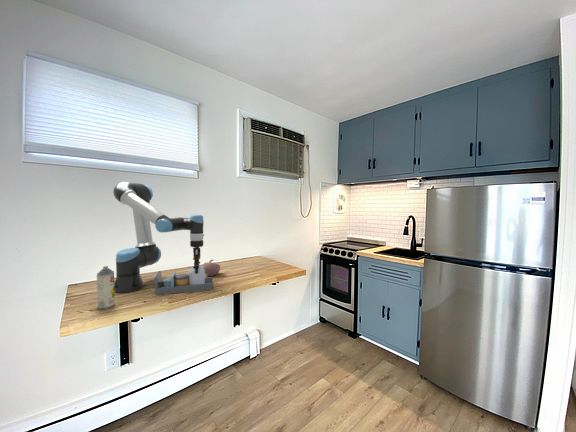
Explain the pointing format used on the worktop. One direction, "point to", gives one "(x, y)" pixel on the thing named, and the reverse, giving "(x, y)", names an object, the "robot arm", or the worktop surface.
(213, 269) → the pink pumpkin
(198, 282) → the soap bottle
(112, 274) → the aerosol can
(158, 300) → the worktop surface
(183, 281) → the amber jar
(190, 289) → the grey slotted block
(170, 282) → the pusher
